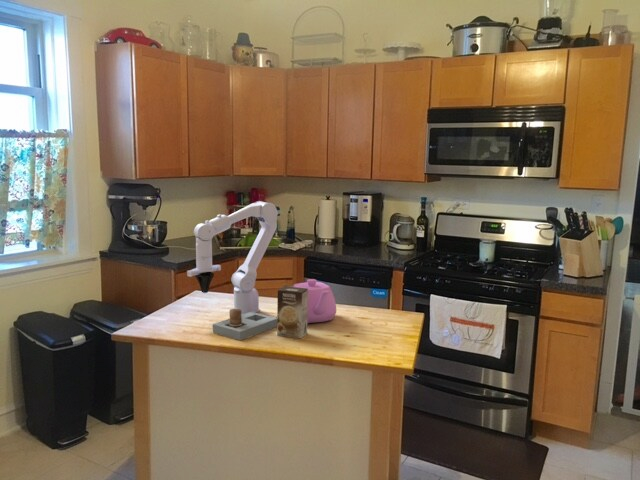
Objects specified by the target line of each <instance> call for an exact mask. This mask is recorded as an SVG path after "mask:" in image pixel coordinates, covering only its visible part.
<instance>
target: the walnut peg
mask: <svg viewBox="0 0 640 480" xmlns="http://www.w3.org/2000/svg"><path fill="white" fill-rule="evenodd" d="M229 311H230V313H229V319H230V327H233V328H238V327H241V325H242V318H241V309H234V308H232V309H229Z"/></svg>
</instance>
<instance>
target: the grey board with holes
mask: <svg viewBox="0 0 640 480" xmlns="http://www.w3.org/2000/svg"><path fill="white" fill-rule="evenodd" d="M241 318H242V325H241V327H238V328H233V327H230V318H226V319H224V320H221V321H218V322H214V323H212V333H214V334H216V335H219V336H224V337H226V338H231V339H234V340H237V341H242V340H245V339H248V338H251V337H254V336H255V335H258V334H261V333H264V332H267V331H269V330H272V329H274V328H277V317H274V316H271V315H267V314H263V313H258V312H249V313H246V314H242V315H241Z"/></svg>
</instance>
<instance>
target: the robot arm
mask: <svg viewBox="0 0 640 480" xmlns="http://www.w3.org/2000/svg"><path fill="white" fill-rule="evenodd" d="M278 215H279V212H278V210H277V207H276V205H275V204H273V203H272V202H264V201H262V200H258V201H255V202H253V203H250V204H248V205H245V207H243V208H240V209H239V210H237V211H235V212H233V213H231V214H229V215H226V214H217V215H216V217H214V218H212V219H209V220H205V221H204V223H203V222H201V223H198V224H197V225H196V226H195V227H194V230H193V231H192V233H193V235H194V236H195V256H196V257H195V264H196V267H195V268H192V269H190V270H186V276H187V277H190V278H192V277H195V279H196V280H197V282H198V284H199V287H200V290H201V293H204V294H207V293H209V290H210V286H211V282H212V280H213V278H214V277H215V273H213V272H216V271H217V272H219V271H222V266H221V265H220V264H213V244H212V239H213V238H214V236H216V235H218V234H220V233H223V232H225V231H227V230H229V229H231V226H232V224H235V223H238V222H239V221H242V220H244V219H247V218H249V217H254V218H256V219H257V220H258V222H259V225H260V227H261V228H260V230H259V232H258V235H257V236H256V238H255V240H254V242H253V244H252V246H251V248H250V250H249V252H248V254H247V256H246V258H245V260H244V261H243V264H241V265H240V266H238V269H237V270H236V271H235V272H234V273H233V274H232V276H231V279H230V280H231V283H232V285H233V309H241V315H242V314H246V313H249V312H255V313H258V312H261V309H259V308H260V307H259V303H260V301H259V298H260V297H259V296H260V295H259V292H258V290H257V288H255V285H256V279H257V276H258V274H257V272H258V271H257V269H258V267H259V265H260V262H261V260H262V258H263V257H264V255H265V253H266V251H267V249H268V247H269V244H270V243H271V241H272V238H273V236H274V235H275V233H276V230H277V223H278V222H277V220H278V219H277V217H278ZM228 312H229V314H230V310H229V311H228Z"/></svg>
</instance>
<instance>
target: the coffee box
mask: <svg viewBox="0 0 640 480" xmlns="http://www.w3.org/2000/svg"><path fill="white" fill-rule="evenodd" d="M276 303H277V307H276V309H277V311H276V312H277V314H276V315H277V317H276V318H277V327H276V328H277V329H276V336H281V337H288V338H295V339H303V337H304V336H306V335H307V334H308V324H307V307H308V289H307V288H299V287H293V286H291V285H290V286H289V285H284V286H281V287H280V288H279V289H278V290H277V302H276Z"/></svg>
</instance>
